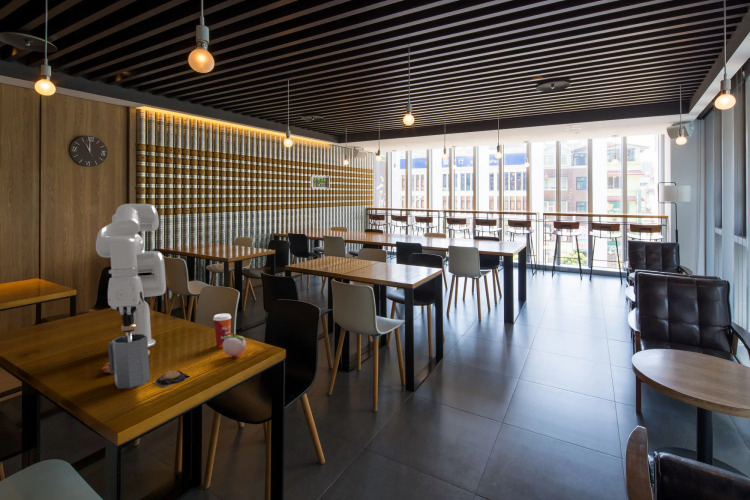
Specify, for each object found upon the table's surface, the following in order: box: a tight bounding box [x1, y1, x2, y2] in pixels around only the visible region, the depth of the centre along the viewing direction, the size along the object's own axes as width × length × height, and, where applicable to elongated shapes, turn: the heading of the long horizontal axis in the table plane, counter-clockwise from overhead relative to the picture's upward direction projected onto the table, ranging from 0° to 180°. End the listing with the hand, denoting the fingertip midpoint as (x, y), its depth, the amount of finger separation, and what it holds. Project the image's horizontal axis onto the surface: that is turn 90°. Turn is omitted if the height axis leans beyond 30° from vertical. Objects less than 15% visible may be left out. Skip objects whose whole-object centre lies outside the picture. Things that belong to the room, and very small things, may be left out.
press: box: [107, 334, 151, 389], centre depth 137 cm, size 12×10×16 cm
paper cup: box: [212, 313, 232, 349], centre depth 174 cm, size 8×8×14 cm
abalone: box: [152, 370, 191, 389], centre depth 140 cm, size 11×8×4 cm
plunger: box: [120, 323, 136, 342], centre depth 137 cm, size 8×8×18 cm
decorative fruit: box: [222, 333, 247, 358], centre depth 160 cm, size 9×8×10 cm
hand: (128, 324), depth 136 cm, fingers closed
